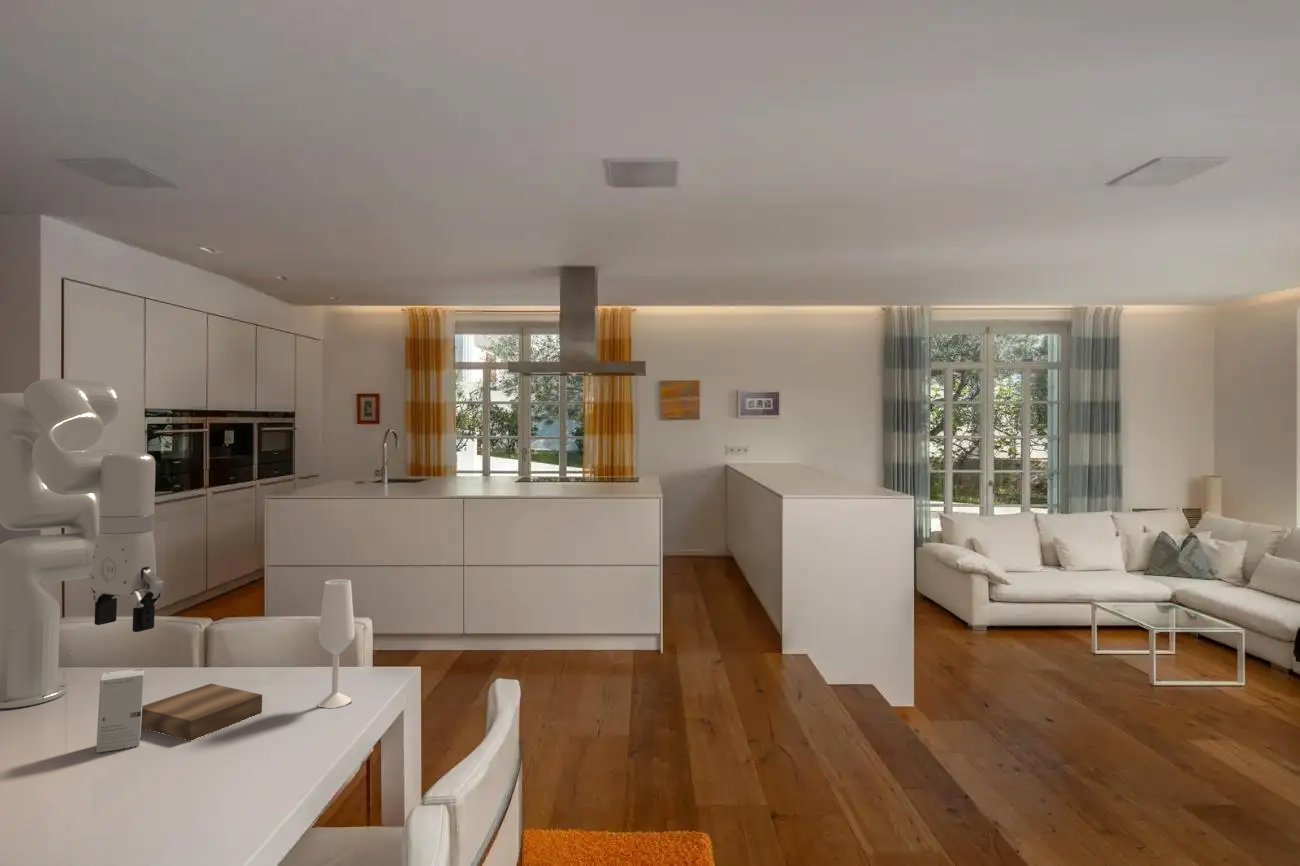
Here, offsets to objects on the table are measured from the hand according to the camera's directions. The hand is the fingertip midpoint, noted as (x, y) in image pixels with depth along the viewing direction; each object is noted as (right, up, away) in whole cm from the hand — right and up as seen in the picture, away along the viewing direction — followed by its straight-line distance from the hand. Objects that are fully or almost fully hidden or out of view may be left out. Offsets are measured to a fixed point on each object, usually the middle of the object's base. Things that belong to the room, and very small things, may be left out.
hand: (124, 626), depth 122 cm
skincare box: (-1, -20, 0) cm, 20 cm away
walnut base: (+6, -21, +11) cm, 24 cm away
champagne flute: (+26, -21, +21) cm, 40 cm away
